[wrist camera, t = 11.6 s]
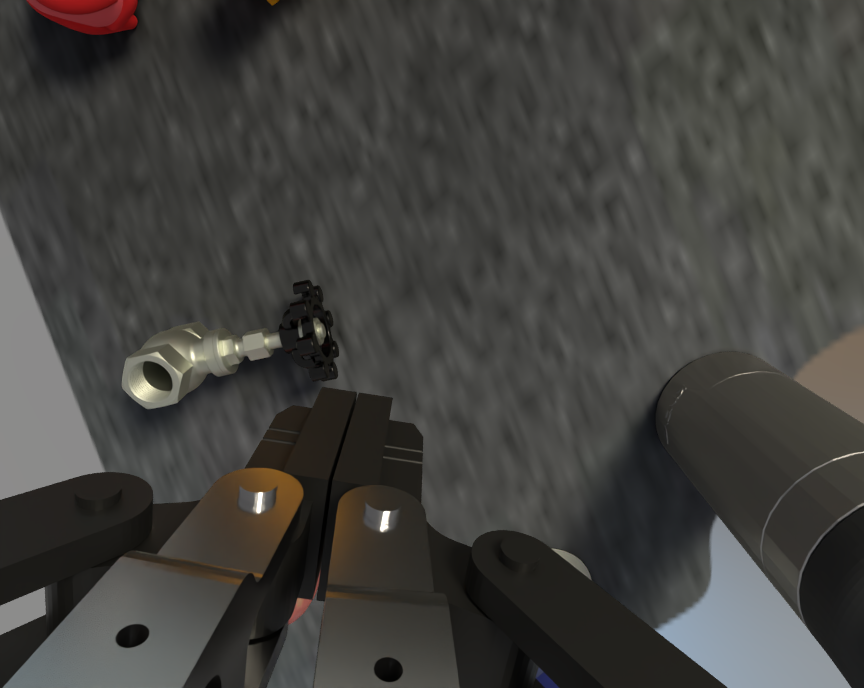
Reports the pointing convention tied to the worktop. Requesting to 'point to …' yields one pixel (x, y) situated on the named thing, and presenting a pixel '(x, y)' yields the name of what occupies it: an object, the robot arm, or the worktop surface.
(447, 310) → the worktop surface
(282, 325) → the valve
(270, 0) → the pipe clamp
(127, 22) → the cap
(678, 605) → the worktop surface
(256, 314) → the worktop surface
